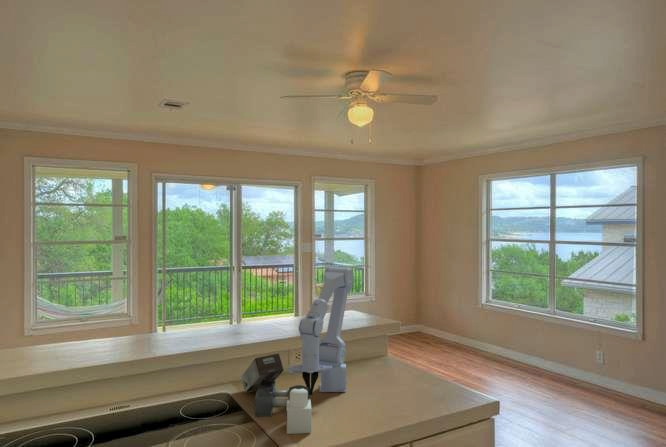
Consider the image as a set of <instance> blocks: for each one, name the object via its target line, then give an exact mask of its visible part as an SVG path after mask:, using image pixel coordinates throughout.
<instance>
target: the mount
mask: <svg viewBox="0 0 666 447" xmlns="http://www.w3.org/2000/svg"><path fill="white" fill-rule="evenodd" d="M276 384H277V383H276V380H274V381H261V382H260V385H259V388H258V390H256V394H255V396H254V417H255V418H256V417H260V418H261V417H272V414H273V410H274V407H275V406H272V399H277V397H274V391H277V390H276Z"/></svg>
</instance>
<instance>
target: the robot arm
mask: <svg viewBox="0 0 666 447" xmlns="http://www.w3.org/2000/svg"><path fill="white" fill-rule="evenodd" d="M354 278H355V277H354V272H353V269H352V268H351V267H339V266H330V265H329V266H326V268H325V269H324V271H323V285H322V287H321V290H320V293H319V295H318V298H317V299H314V300H313V301H312V304H311V306H310V307H309V310H308V312H307V314H306V316H305V317H303V318H302V319H300V321H299V325H298V332H299V334H300V340H301V348H302V349H301V364H298V365H297V364H296V365H289V366H288V374H302V379H303V381H304V383H305V386H306V387H308V389H309V396H313V394H314V388H315V385H316V383H317V381H318V378H319V374H320V382H319V383H318V384H319V386H318V387H319V392H320V393H346V392H347V385H348V384H347V383H348V380H347V364H346V363H344V362H345V360H346V355H347V353H346V351H347V350H346V347H347V344H346V342H345V341H344V340H343V339H342V338H341V333H342V330H343V328H342V327H343V323H344V316H345V311H346V305H347V301H348V300H347V299H348V294H349V293H350V292H351V291H352V289H353V288H352V287H353V285H354V284H353V282H354ZM332 296H333V297H332ZM331 297H332V298H333V299H332V303H331V310H330V315H329V319H328V320H329V321H328V325H327V330H326V335H324V336H323V337H321V338H320V335H321V333H322V332H323V330H324V329H323V327H324V323H325V322H324V319H325V316H326V314H327V312H328V310H329V304H328V302H329V301H330V299H331Z"/></svg>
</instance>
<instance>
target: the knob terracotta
mask: <svg viewBox="0 0 666 447" xmlns="http://www.w3.org/2000/svg"><path fill="white" fill-rule="evenodd" d="M287 400H289V395H288V397H287V398H276V399H272V406H274V407H275V406H279V407H280V406H283V407H284V406H286V407H287Z"/></svg>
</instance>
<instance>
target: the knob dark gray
mask: <svg viewBox="0 0 666 447" xmlns="http://www.w3.org/2000/svg"><path fill="white" fill-rule="evenodd" d="M291 387H292V386H291ZM291 387H289V389H290V388H291ZM289 389H288V390H276V391H274V397H276V398H288V395H289Z"/></svg>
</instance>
